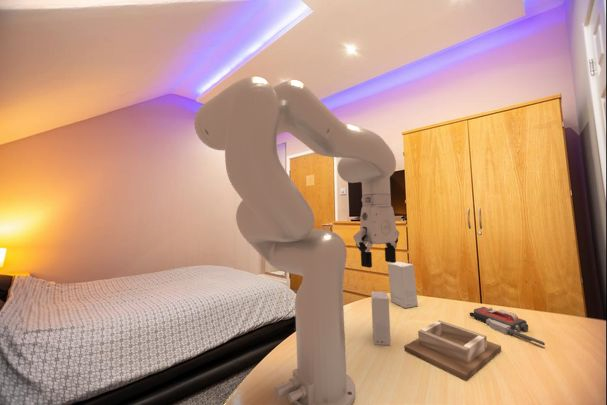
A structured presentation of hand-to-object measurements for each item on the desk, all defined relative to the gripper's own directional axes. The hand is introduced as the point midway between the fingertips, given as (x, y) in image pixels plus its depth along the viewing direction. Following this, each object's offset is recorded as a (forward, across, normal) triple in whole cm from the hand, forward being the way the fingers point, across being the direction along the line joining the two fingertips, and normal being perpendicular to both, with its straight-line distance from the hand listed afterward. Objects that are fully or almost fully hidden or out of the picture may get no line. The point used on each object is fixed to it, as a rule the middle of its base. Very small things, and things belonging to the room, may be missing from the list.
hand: (379, 264), depth 69 cm
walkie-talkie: (+20, +33, -17) cm, 43 cm away
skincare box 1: (+20, 0, 0) cm, 20 cm away
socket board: (+20, +9, -14) cm, 26 cm away
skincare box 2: (+20, +27, +12) cm, 36 cm away
